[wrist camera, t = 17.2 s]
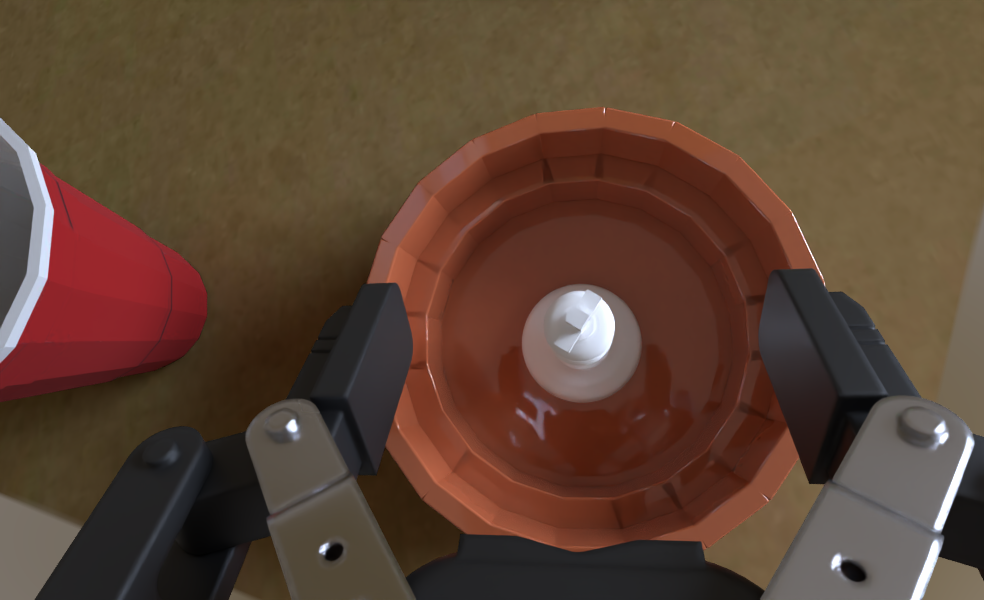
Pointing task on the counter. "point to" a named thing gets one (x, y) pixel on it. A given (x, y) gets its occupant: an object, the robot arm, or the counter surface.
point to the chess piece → (581, 343)
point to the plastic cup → (82, 286)
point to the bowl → (629, 275)
